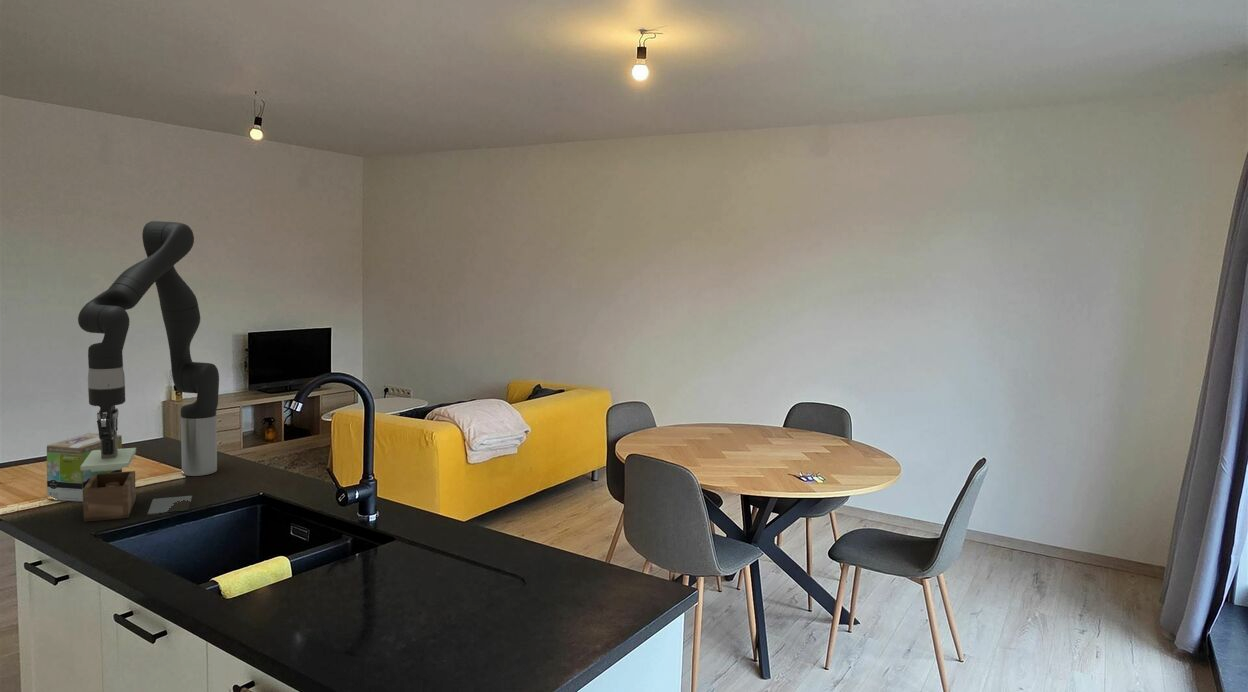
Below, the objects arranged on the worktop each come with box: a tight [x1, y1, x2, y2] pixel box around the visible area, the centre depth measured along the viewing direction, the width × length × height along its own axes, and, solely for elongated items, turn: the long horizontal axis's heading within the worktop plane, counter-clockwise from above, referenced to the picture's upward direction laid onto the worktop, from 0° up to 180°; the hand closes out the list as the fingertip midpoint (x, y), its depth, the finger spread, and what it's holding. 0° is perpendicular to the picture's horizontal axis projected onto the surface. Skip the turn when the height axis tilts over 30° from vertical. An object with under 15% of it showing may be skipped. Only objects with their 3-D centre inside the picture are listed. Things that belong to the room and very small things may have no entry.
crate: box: [82, 470, 137, 523], centre depth 189 cm, size 14×9×8 cm, turn 27°
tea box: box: [46, 432, 123, 503], centre depth 201 cm, size 15×10×15 cm, turn 179°
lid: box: [80, 431, 137, 472], centre depth 187 cm, size 15×10×8 cm, turn 27°
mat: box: [147, 495, 193, 516], centre depth 195 cm, size 12×9×1 cm
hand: (109, 452), depth 187 cm, fingers closed on lid, 3 cm apart
